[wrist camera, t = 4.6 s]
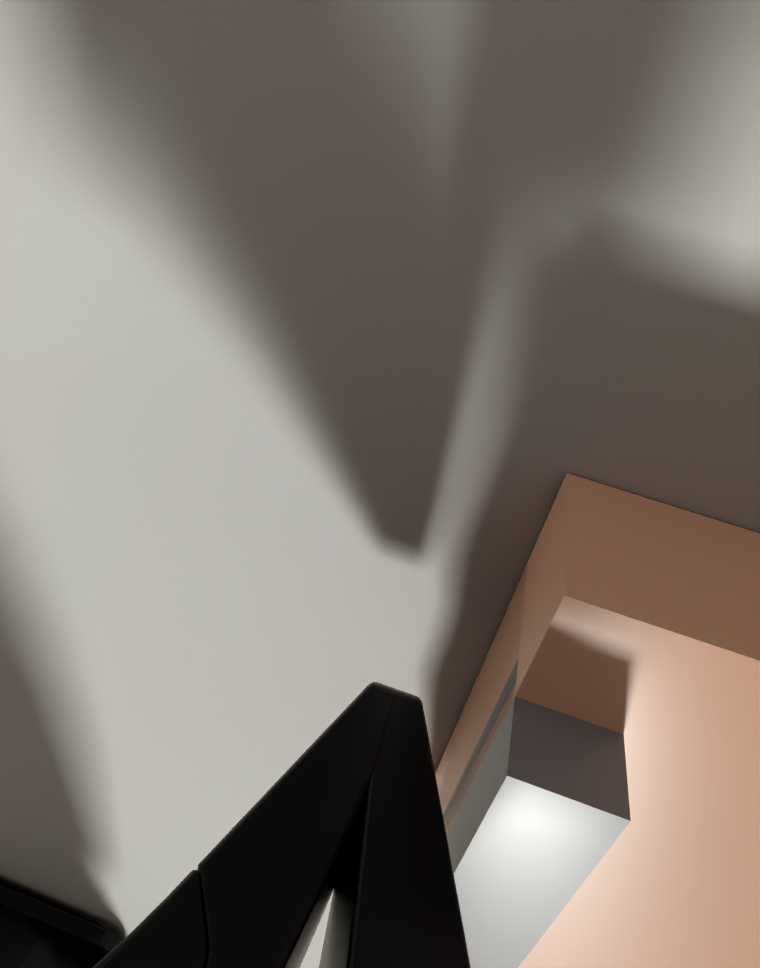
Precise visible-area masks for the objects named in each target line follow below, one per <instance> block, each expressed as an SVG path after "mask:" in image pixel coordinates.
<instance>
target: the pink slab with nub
mask: <svg viewBox="0 0 760 968" xmlns="http://www.w3.org/2000/svg"><path fill="white" fill-rule="evenodd" d="M435 775H436V781H437V786H438V792H439V797H440V803H441V808H442V814H443V819H444V824H445V830H446V835H447V841H448V846H449V852H450V857H451V863H452V868H453V873H454V879H455V884H456V890H457V895H458V901H459V906H460V912H461V917H462V922H463V928H464V933H465V939H466V944H467V950H468V955H469V961H470V966H471V968H760V533H757V532H754V531H750V530H747V529H744V528H741V527H738V526H734V525H731V524H728V523H725V522H722V521H718V520H715V519H712V518H709V517H706V516H703V515H699V514H696V513H693V512H690V511H687V510H683V509H680V508H677V507H674V506H671V505H667V504H664V503H661V502H658V501H655V500H651V499H648V498H645V497H642V496H639V495H636V494H632V493H629V492H626V491H623V490H620V489H616V488H613V487H610V486H607V485H604V484H600V483H597V482H594V481H591V480H588V479H585V478H581V477H578V476H575V475H572V474H569V473H566V476H565V478H564V480H563V482H562V485H561V487H560V489H559V492H558V494H557V496H556V498H555V501H554V503H553V505H552V508H551V510H550V512H549V514H548V517H547V519H546V521H545V524H544V526H543V528H542V530H541V533H540V535H539V537H538V540H537V542H536V544H535V546H534V549H533V551H532V553H531V555H530V558H529V560H528V562H527V565H526V567H525V569H524V571H523V574H522V576H521V578H520V581H519V583H518V585H517V587H516V590H515V592H514V594H513V597H512V599H511V601H510V603H509V606H508V608H507V610H506V613H505V615H504V617H503V619H502V622H501V624H500V626H499V629H498V631H497V633H496V635H495V638H494V640H493V642H492V645H491V647H490V649H489V651H488V654H487V656H486V658H485V661H484V663H483V665H482V667H481V670H480V672H479V674H478V677H477V679H476V681H475V683H474V686H473V688H472V690H471V693H470V695H469V697H468V699H467V702H466V704H465V706H464V709H463V711H462V713H461V715H460V718H459V720H458V722H457V725H456V727H455V729H454V731H453V734H452V736H451V738H450V741H449V743H448V745H447V747H446V750H445V752H444V754H443V757H442V759H441V761H440V763H439V766H438V768H437V770H436V773H435Z"/></svg>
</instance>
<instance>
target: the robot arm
mask: <svg viewBox="0 0 760 968" xmlns="http://www.w3.org/2000/svg"><path fill="white" fill-rule="evenodd" d="M333 890H334V891H333ZM332 892H333V897H332V902H331V907H330V912H329V918H328V923H327V928H326V933H325V939H324V944H323V949H322V955H321V960H320V965H319V968H471V966H470V961H469V955H468V950H467V944H466V939H465V933H464V928H463V922H462V917H461V912H460V906H459V901H458V895H457V890H456V884H455V879H454V873H453V868H452V863H451V857H450V852H449V846H448V841H447V835H446V830H445V824H444V819H443V814H442V808H441V803H440V797H439V792H438V786H437V781H436V775H435V770H434V765H433V759H432V754H431V748H430V743H429V737H428V732H427V726H426V721H425V716H424V710H423V705H422V702H421V700H420V698H419V697H417V696H414V695H412V694H409V693H406V692H403V691H400V690H396V689H395V688H392V687H389V686H386V685H383V684H380V683H378V682H372V683H370V684H369V685H368V686H367V687H366V688H365V689H364V690H363V691H362V692H361V693H360V694H359V695H358V696H357V698H356V699H355V700H354V701H353V702H352V703H351V704H350V705H349V706H348V707H347V708H346V709H345V710H344V711H343V712H342V713H341V714H340V715H339V717H338V718H337V719H336V720H335V721H334V722H333V723H332V724H331V725H330V726H329V727H328V728H327V729H326V730H325V731H324V732H323V733H322V734H321V736H320V737H319V738H318V739H317V740H316V741H315V742H314V743H313V744H312V745H311V746H310V747H309V748H308V749H307V750H306V751H305V752H304V753H303V755H302V756H301V757H300V758H299V759H298V760H297V761H296V762H295V763H294V764H293V765H292V766H291V767H290V768H289V769H288V770H287V771H286V773H285V774H284V775H283V776H282V777H281V778H280V779H279V780H278V781H277V782H276V783H275V784H274V785H273V786H272V787H271V788H270V789H269V790H268V792H267V793H266V794H265V795H264V796H263V797H262V798H261V799H260V800H259V801H258V802H257V803H256V804H255V805H254V806H253V807H252V808H251V809H250V811H249V812H248V813H247V814H246V815H245V816H244V817H243V818H242V819H241V820H240V821H239V822H238V823H237V824H236V825H235V826H234V827H233V829H232V830H231V831H230V832H229V833H228V834H227V835H226V836H225V837H224V838H223V839H222V840H221V841H220V842H219V843H218V844H217V845H216V846H215V848H214V849H213V850H212V851H211V852H210V853H209V854H208V855H207V856H206V857H205V858H204V859H203V860H202V861H201V862H200V863H199V865H198V871H197V870H192V871H191V872H190V873H189V874H188V876H187V877H186V878H185V879H184V880H183V881H182V882H181V883H180V884H179V885H178V886H177V887H176V888H175V889H174V890H173V891H172V892H171V893H170V895H169V896H168V897H167V898H166V899H165V900H164V901H163V902H162V903H161V904H160V905H159V906H158V907H157V908H156V909H155V910H153V911H152V912H151V913H150V914H149V915H148V916H147V917H146V918H145V919H144V920H143V921H142V922H141V923H140V924H139V925H138V926H137V927H136V928H135V929H134V930H133V931H132V932H131V933H130V934H129V935H128V936H127V937H126V938H125V939H124V940H123V941H121V940H120V939H119V938H118V937H117V936H116V935H115V934H113V933H111V932H109V931H108V930H105V929H103V928H101V927H98V926H96V925H93V924H91V923H89V922H86V921H84V920H82V919H79V918H77V917H75V916H72V915H70V914H67V913H65V912H63V911H60V910H58V909H56V908H53V907H51V906H49V905H46V904H44V903H41V902H39V901H37V900H34V899H32V898H30V897H27V896H25V895H23V894H20V893H18V892H16V891H13V890H11V889H8V888H6V887H4V886H1V885H0V968H300V966H301V963H302V961H303V959H304V956H305V954H306V952H307V949H308V947H309V945H310V943H311V940H312V938H313V936H314V933H315V931H316V929H317V926H318V924H319V922H320V919H321V917H322V915H323V913H324V910H325V908H326V906H327V903H328V901H329V899H330V896H331V894H332Z"/></svg>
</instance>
